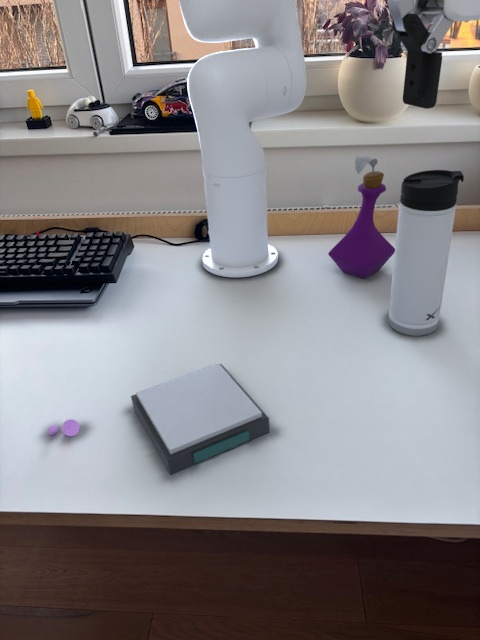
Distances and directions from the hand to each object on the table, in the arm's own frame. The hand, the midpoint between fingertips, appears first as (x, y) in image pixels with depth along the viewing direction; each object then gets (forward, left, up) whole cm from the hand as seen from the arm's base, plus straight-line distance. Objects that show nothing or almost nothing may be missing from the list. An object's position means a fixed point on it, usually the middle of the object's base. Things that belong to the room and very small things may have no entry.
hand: (462, 97), depth 46 cm
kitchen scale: (-7, -25, -30) cm, 39 cm away
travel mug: (-9, +7, -30) cm, 33 cm away
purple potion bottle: (-25, +11, -30) cm, 41 cm away
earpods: (-13, -38, -30) cm, 50 cm away
